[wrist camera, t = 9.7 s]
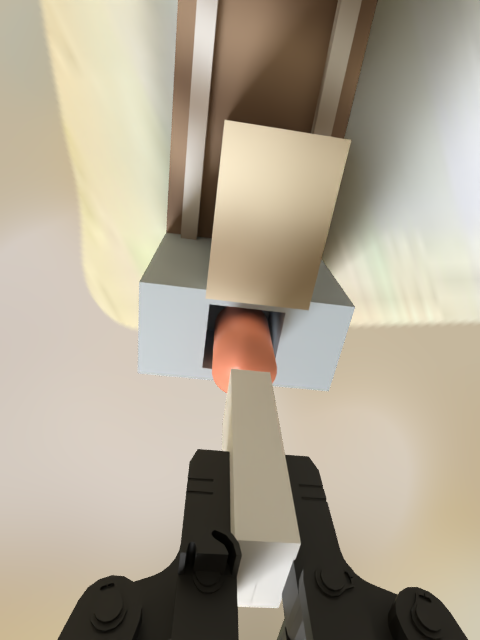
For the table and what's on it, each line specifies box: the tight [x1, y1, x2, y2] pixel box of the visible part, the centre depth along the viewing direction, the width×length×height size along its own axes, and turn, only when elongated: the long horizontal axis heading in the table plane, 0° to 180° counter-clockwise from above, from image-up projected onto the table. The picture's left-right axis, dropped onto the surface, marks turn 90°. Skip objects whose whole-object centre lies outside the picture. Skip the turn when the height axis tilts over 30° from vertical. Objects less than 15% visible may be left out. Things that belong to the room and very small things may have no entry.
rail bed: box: [166, 0, 378, 240], centre depth 20 cm, size 26×10×4 cm, turn 172°
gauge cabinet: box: [138, 233, 355, 391], centre depth 23 cm, size 5×10×10 cm, turn 82°
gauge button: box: [212, 306, 277, 393], centre depth 18 cm, size 3×3×4 cm
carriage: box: [205, 120, 351, 310], centre depth 18 cm, size 6×4×11 cm, turn 172°
